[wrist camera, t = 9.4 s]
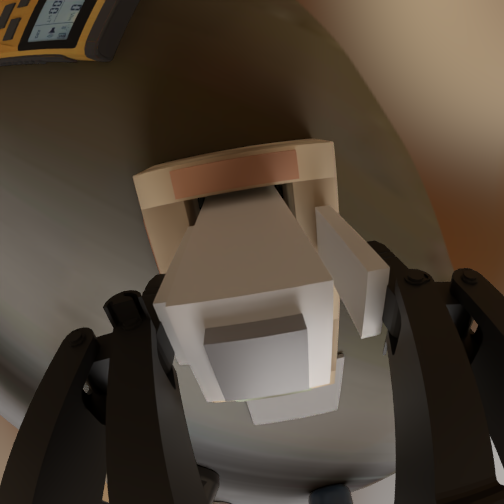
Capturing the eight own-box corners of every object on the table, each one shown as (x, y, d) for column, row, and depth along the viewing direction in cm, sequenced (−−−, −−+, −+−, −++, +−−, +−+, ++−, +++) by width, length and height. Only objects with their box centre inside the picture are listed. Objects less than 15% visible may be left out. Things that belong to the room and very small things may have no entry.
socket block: (211, 368, 24) (209, 405, 20) (150, 166, 16) (125, 178, 12) (322, 351, 24) (335, 386, 20) (312, 138, 16) (335, 142, 12)
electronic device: (19, -9, 7) (0, -17, 4) (159, -27, 10) (147, -49, 7) (-14, 69, 11) (-38, 69, 7) (111, 69, 13) (88, 60, 10)
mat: (254, 421, 28) (254, 425, 28) (238, 372, 24) (238, 376, 24) (336, 406, 28) (337, 409, 28) (342, 353, 24) (344, 356, 24)
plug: (220, 249, 19) (206, 416, 7) (208, 191, 17) (159, 322, 6) (278, 239, 19) (334, 397, 7) (270, 181, 17) (341, 294, 6)
